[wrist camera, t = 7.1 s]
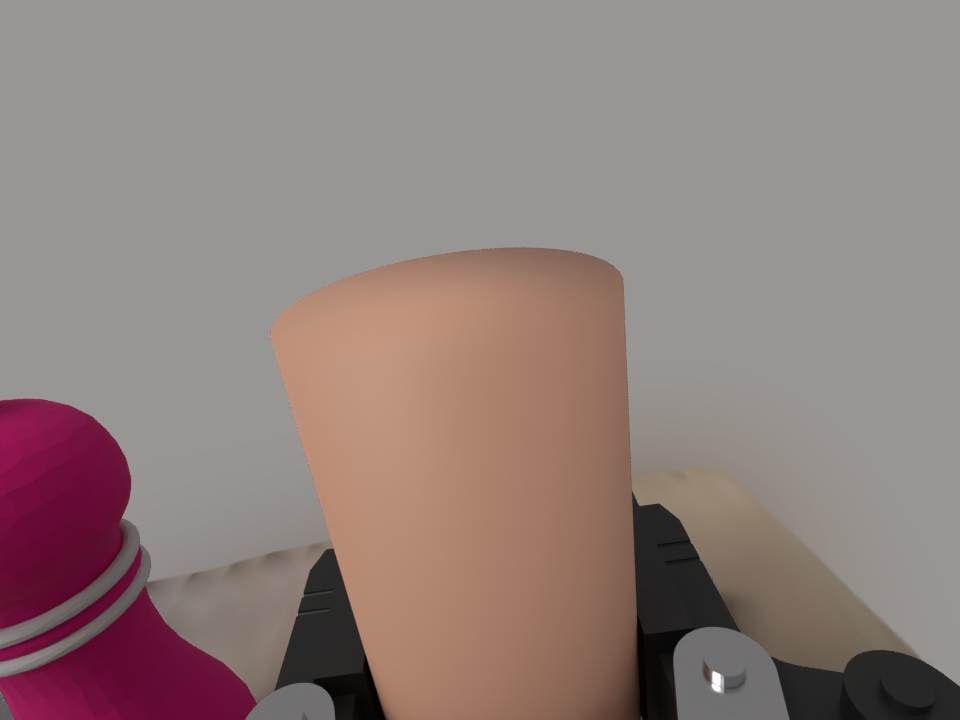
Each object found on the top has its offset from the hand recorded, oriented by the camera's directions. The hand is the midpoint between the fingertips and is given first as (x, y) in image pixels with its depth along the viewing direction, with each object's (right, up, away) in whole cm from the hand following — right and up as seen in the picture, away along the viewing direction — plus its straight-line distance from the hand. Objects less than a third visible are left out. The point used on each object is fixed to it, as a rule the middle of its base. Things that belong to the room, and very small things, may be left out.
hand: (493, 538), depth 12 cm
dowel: (+1, -8, +1) cm, 8 cm away
